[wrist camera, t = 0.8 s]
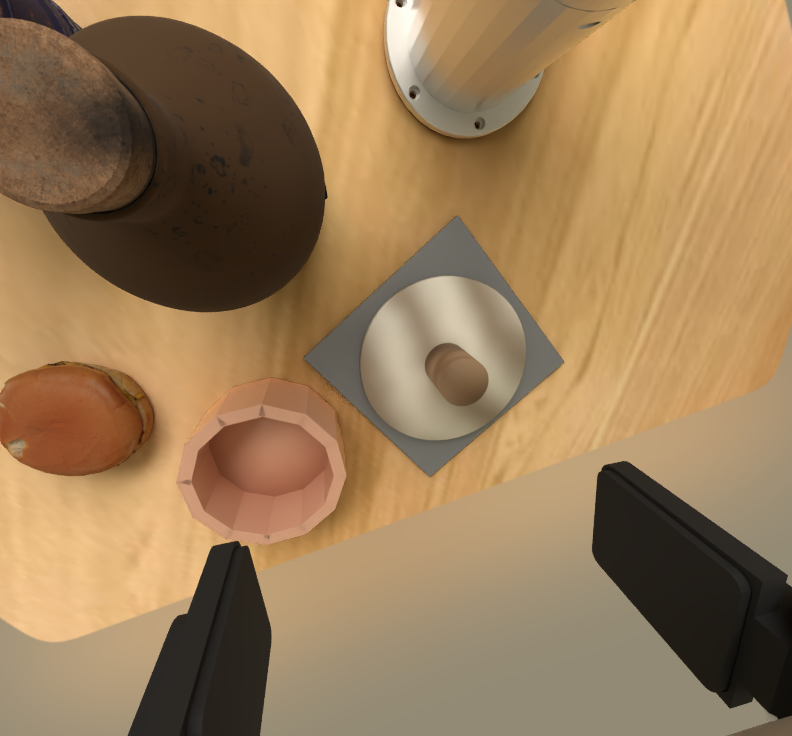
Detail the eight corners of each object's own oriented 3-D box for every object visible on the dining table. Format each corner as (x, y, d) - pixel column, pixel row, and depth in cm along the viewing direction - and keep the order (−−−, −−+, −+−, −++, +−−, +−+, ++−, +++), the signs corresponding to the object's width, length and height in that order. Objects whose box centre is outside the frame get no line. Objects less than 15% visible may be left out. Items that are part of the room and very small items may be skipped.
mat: (456, 215, 33) (458, 215, 33) (561, 360, 40) (564, 361, 39) (303, 356, 35) (303, 358, 34) (428, 474, 41) (429, 476, 41)
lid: (455, 236, 33) (483, 236, 28) (548, 361, 39) (588, 383, 33) (323, 358, 35) (323, 383, 29) (431, 462, 40) (449, 500, 34)
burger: (178, 412, 35) (157, 437, 30) (102, 476, 35) (71, 510, 31) (79, 329, 31) (39, 344, 27) (-3, 401, 32) (-55, 427, 28)
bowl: (270, 351, 34) (260, 374, 29) (367, 439, 39) (375, 474, 33) (171, 444, 35) (142, 484, 30) (276, 520, 40) (268, 566, 34)
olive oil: (256, 304, 33) (91, 472, 9) (149, 196, 29) (-557, 37, 6) (351, 219, 32) (427, 174, 9) (254, 97, 28) (-71, -556, 5)
